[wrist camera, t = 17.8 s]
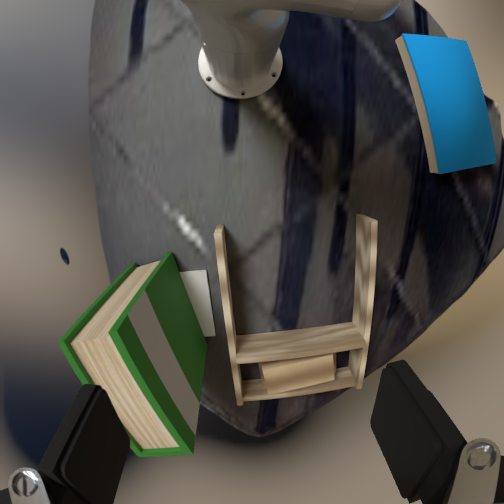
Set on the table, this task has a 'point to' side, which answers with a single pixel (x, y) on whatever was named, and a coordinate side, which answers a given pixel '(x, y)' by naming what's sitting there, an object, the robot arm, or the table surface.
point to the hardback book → (144, 356)
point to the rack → (306, 339)
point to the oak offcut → (297, 372)
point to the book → (448, 102)
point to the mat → (200, 299)
